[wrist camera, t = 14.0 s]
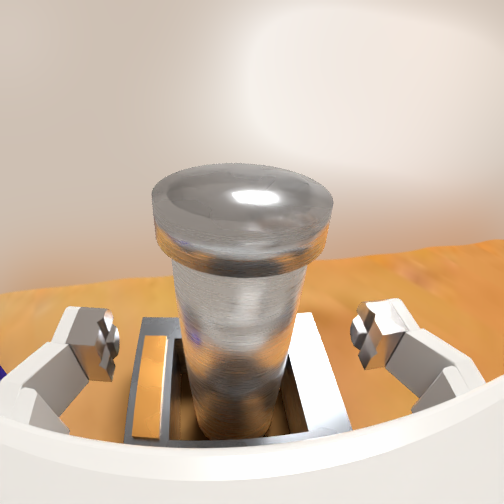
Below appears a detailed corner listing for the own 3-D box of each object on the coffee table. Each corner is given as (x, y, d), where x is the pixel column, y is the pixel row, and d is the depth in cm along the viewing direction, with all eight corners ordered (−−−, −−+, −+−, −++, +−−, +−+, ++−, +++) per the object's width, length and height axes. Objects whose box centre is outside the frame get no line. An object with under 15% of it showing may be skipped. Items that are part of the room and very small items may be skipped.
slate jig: (301, 349, 20) (311, 310, 18) (371, 611, 4) (407, 619, 2) (152, 354, 18) (142, 314, 16) (153, 634, 3) (131, 652, 1)
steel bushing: (270, 377, 18) (304, 165, 11) (285, 449, 13) (363, 231, 6) (189, 381, 17) (165, 164, 10) (190, 455, 13) (132, 232, 6)
